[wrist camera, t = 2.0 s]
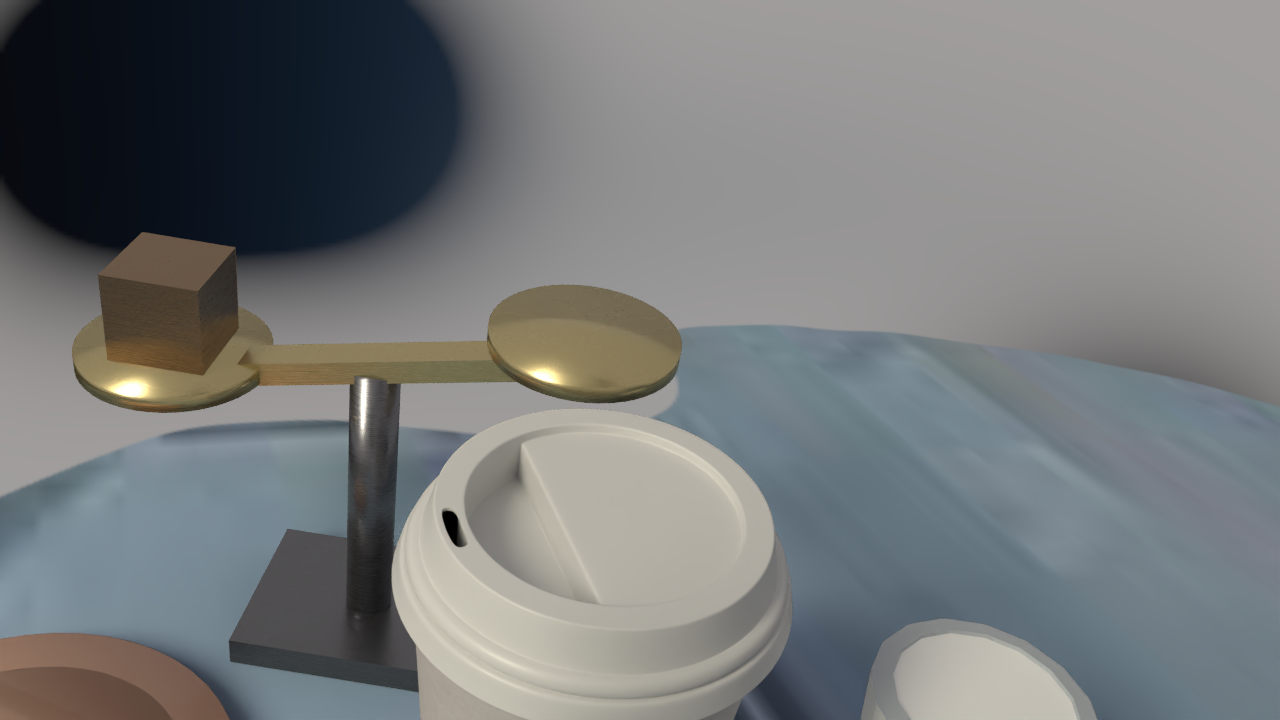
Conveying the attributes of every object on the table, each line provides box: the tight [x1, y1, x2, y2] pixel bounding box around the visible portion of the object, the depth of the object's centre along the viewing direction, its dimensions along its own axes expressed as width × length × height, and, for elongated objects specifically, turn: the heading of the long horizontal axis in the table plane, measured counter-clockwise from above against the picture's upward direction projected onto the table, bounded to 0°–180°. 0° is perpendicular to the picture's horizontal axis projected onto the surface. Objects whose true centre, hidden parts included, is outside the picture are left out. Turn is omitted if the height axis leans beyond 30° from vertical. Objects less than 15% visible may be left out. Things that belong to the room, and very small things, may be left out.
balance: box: [72, 232, 682, 692], centre depth 40 cm, size 19×6×14 cm, turn 85°
